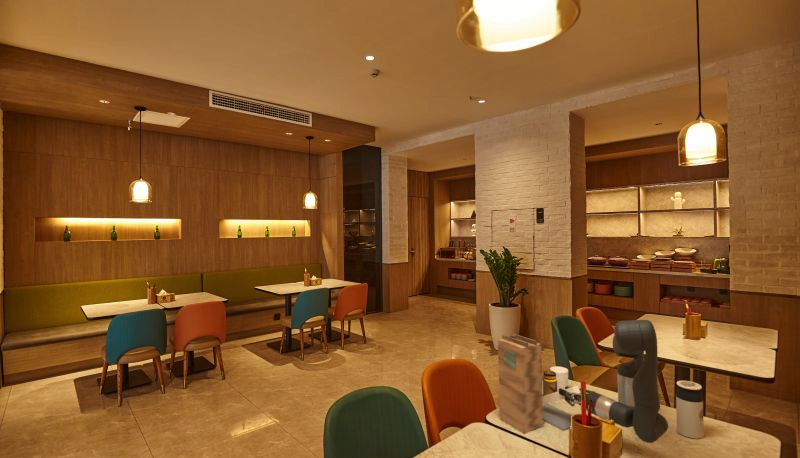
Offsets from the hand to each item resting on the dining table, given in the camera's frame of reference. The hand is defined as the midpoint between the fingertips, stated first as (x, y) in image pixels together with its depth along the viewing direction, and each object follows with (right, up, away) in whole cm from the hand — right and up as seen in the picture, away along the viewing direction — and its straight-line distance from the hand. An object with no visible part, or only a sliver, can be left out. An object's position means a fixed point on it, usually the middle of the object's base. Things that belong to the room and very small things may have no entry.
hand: (562, 390), depth 157 cm
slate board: (-2, -12, +4) cm, 13 cm away
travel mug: (+42, -11, -11) cm, 45 cm away
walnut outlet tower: (-16, -13, 0) cm, 21 cm away
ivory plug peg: (0, -4, +1) cm, 4 cm away
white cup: (+10, -12, +28) cm, 32 cm away
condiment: (+2, -12, +20) cm, 24 cm away
